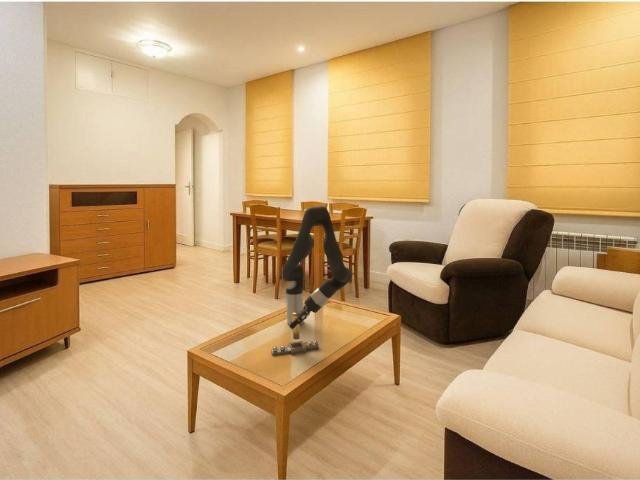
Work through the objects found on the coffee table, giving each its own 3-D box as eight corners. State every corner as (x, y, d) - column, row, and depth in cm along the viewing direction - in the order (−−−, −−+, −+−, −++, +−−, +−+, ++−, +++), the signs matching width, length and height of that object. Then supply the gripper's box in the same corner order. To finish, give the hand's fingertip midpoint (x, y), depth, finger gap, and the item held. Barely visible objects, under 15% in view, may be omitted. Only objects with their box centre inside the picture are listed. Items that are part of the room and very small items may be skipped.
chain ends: (270, 350, 178) (270, 344, 178) (316, 344, 184) (316, 338, 184) (273, 357, 171) (273, 350, 170) (320, 350, 177) (320, 344, 176)
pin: (292, 337, 178) (291, 312, 176) (298, 336, 179) (297, 311, 177) (293, 339, 175) (292, 314, 173) (300, 339, 176) (299, 313, 174)
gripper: (312, 290, 181) (287, 315, 183) (309, 298, 167) (282, 326, 169) (324, 301, 181) (299, 326, 183) (322, 310, 167) (295, 337, 169)
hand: (291, 326), depth 176 cm, fingers closed on pin, 3 cm apart
